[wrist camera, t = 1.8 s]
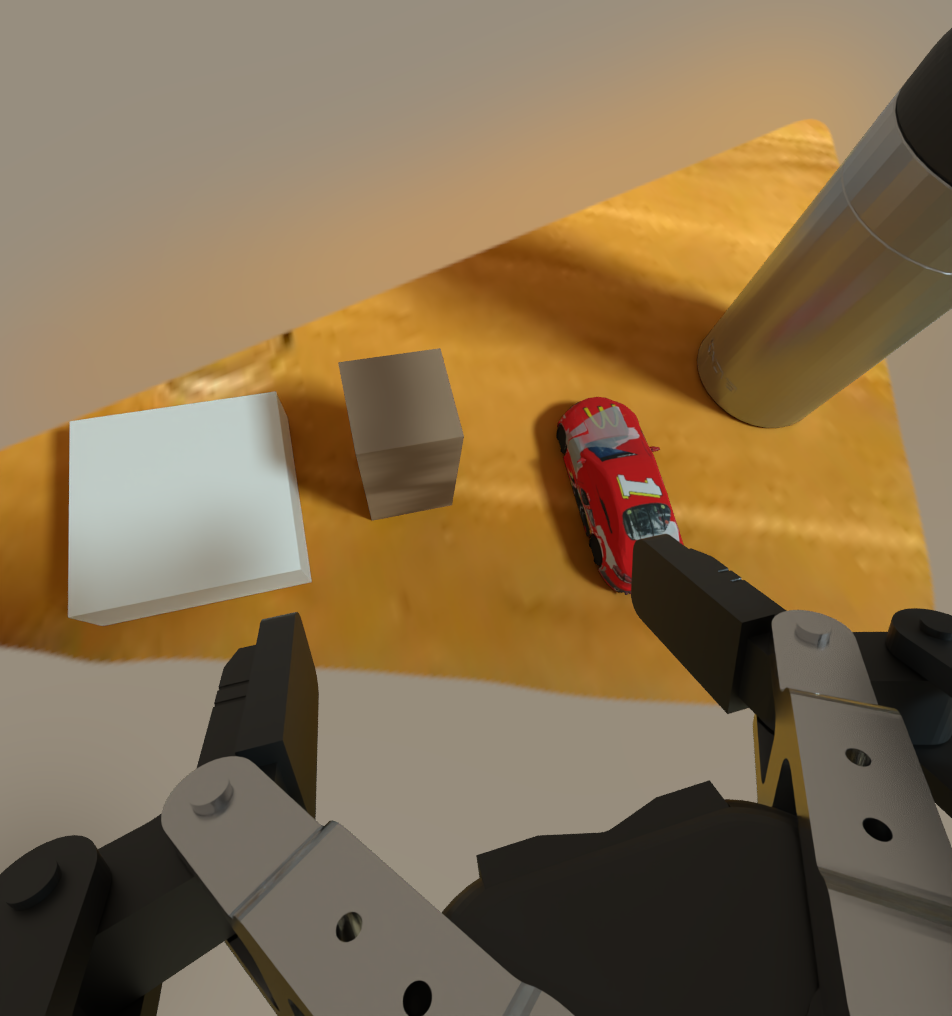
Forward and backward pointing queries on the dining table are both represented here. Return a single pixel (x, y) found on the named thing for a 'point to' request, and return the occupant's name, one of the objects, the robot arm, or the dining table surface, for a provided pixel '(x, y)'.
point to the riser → (182, 508)
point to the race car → (614, 484)
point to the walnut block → (403, 431)
